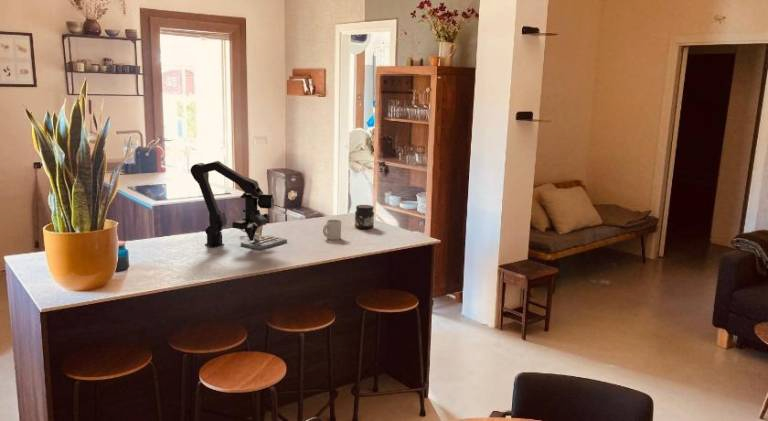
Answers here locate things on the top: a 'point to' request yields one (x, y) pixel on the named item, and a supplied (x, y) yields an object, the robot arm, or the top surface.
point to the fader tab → (257, 237)
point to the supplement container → (364, 217)
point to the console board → (264, 242)
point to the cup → (332, 229)
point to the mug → (256, 230)
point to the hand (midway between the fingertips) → (251, 240)
